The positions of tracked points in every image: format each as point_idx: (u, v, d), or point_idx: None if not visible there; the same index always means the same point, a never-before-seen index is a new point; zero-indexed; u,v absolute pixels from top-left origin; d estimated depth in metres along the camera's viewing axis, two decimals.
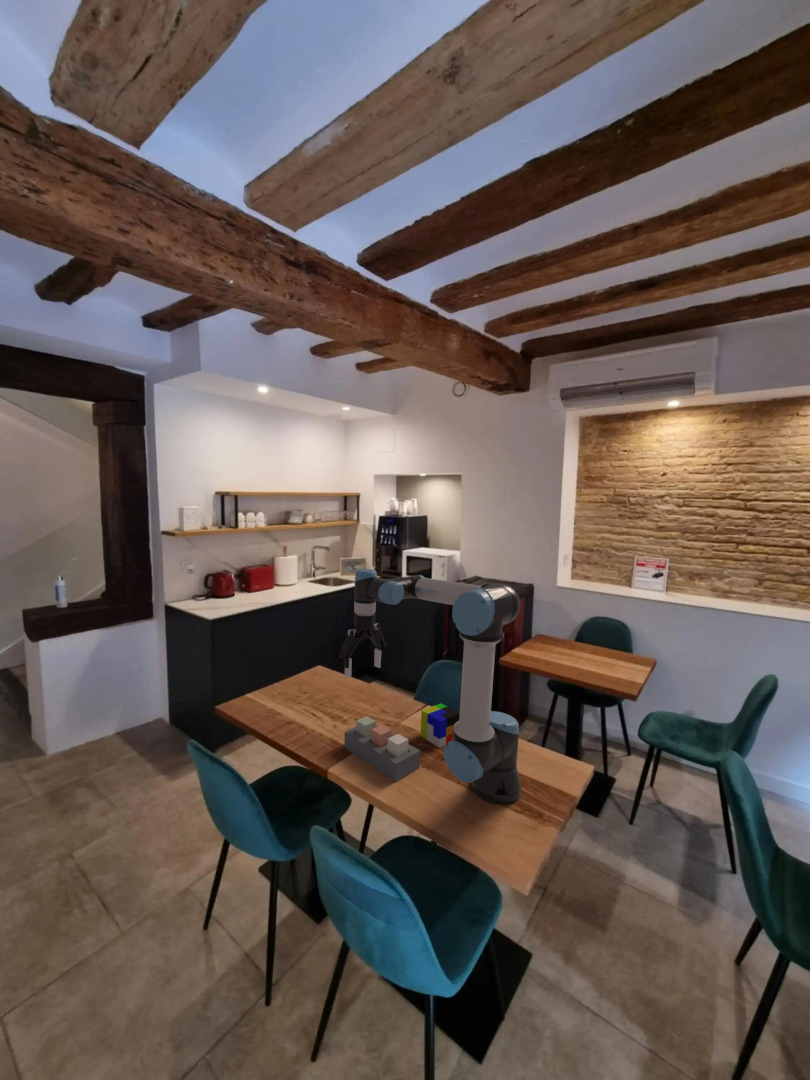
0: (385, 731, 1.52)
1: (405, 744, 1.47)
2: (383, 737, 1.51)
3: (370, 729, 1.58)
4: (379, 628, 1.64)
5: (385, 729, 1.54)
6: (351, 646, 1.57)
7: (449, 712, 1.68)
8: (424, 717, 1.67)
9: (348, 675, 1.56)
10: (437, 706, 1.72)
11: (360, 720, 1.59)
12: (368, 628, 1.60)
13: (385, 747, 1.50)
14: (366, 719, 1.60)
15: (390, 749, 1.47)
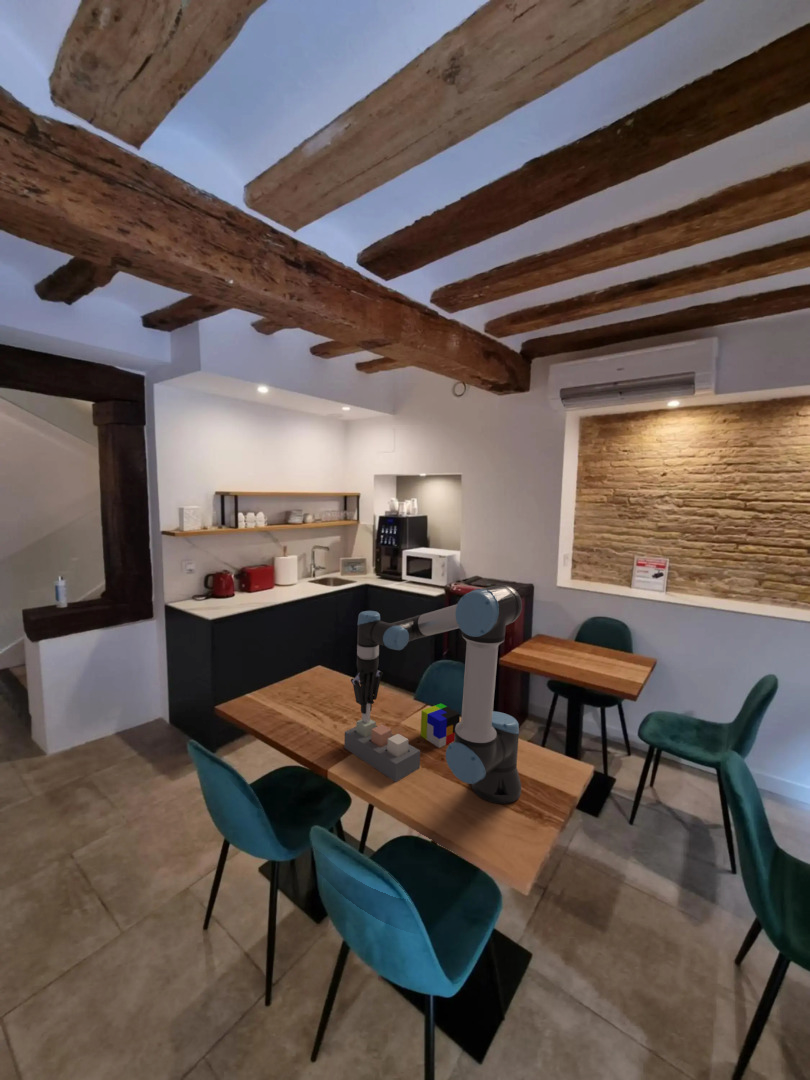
0: (385, 731, 1.52)
1: (405, 744, 1.47)
2: (383, 737, 1.51)
3: (370, 730, 1.58)
4: (380, 676, 1.60)
5: (385, 729, 1.54)
6: (363, 692, 1.57)
7: (449, 712, 1.68)
8: (424, 717, 1.67)
9: (365, 720, 1.58)
10: (437, 706, 1.72)
11: (360, 721, 1.59)
12: None
13: (385, 747, 1.50)
14: None
15: (390, 749, 1.47)
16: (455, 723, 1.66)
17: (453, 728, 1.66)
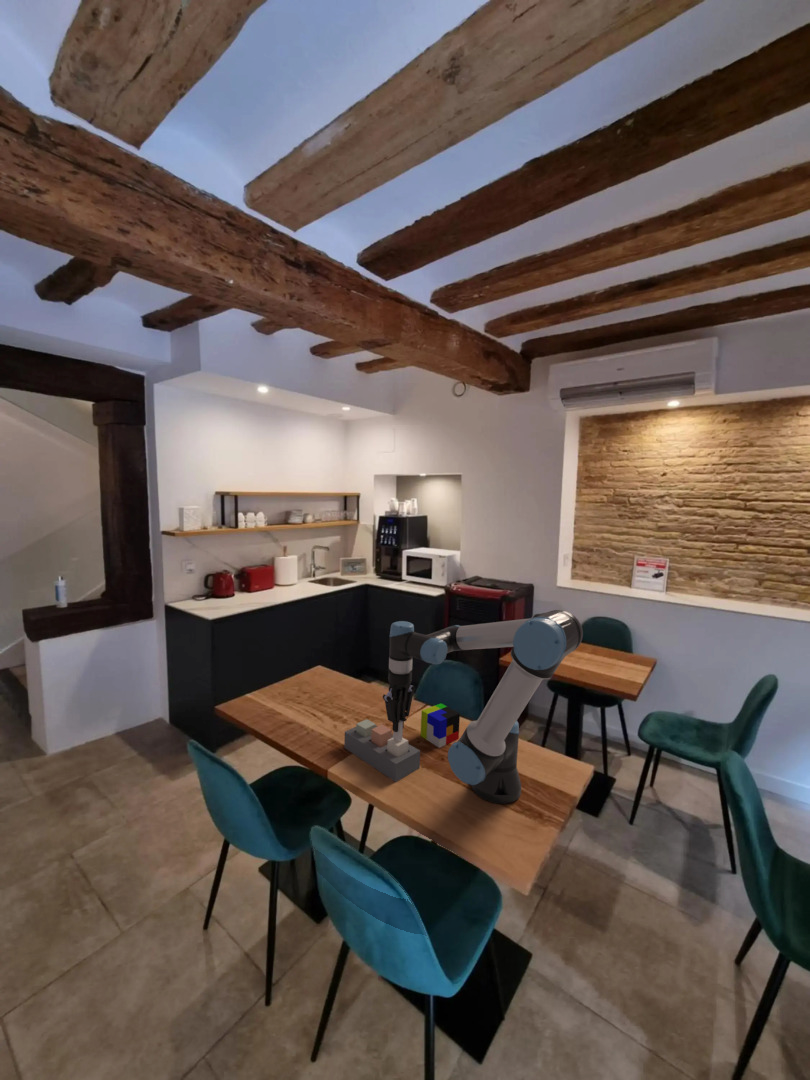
0: (385, 731, 1.52)
1: (405, 746, 1.47)
2: (383, 737, 1.51)
3: (370, 732, 1.58)
4: (412, 691, 1.49)
5: (385, 729, 1.54)
6: (395, 709, 1.45)
7: (449, 712, 1.68)
8: (424, 717, 1.67)
9: (397, 739, 1.47)
10: (437, 706, 1.72)
11: (360, 723, 1.59)
12: None
13: (385, 747, 1.50)
14: (366, 722, 1.60)
15: (390, 750, 1.47)
16: (455, 723, 1.66)
17: (453, 728, 1.66)
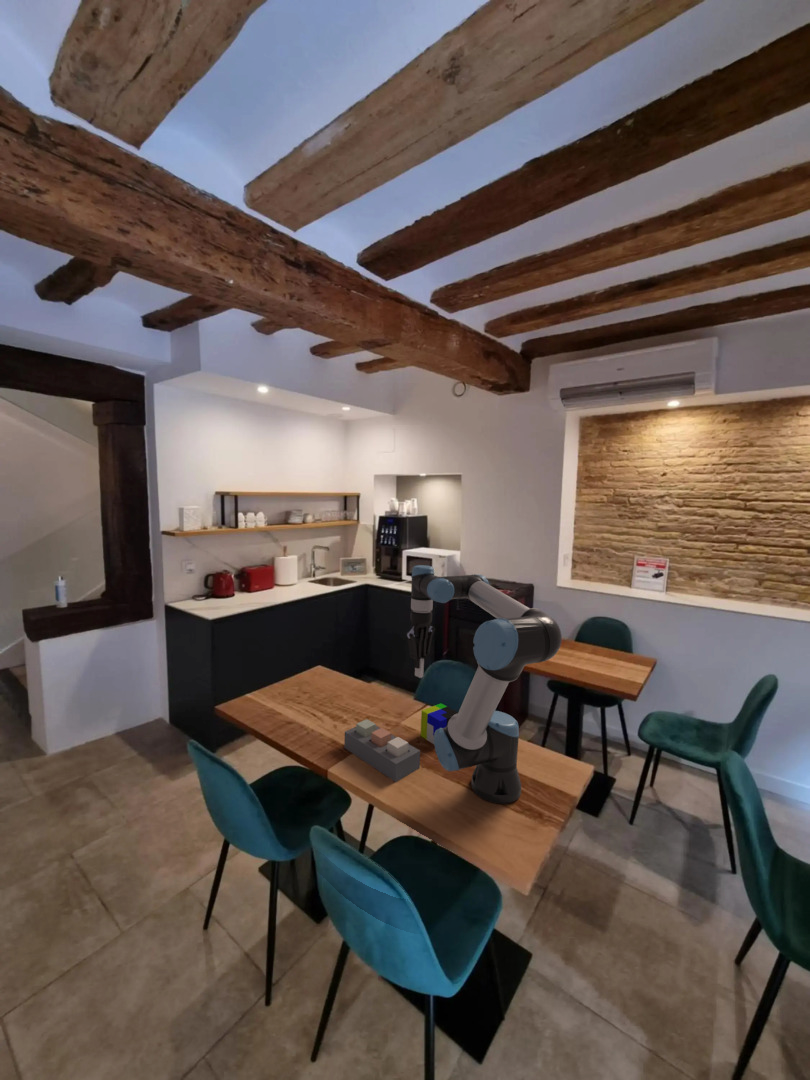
0: (385, 735, 1.52)
1: (405, 748, 1.47)
2: (383, 740, 1.51)
3: (370, 732, 1.58)
4: (432, 631, 1.60)
5: (385, 732, 1.54)
6: (416, 647, 1.56)
7: (449, 712, 1.68)
8: (424, 717, 1.67)
9: (419, 675, 1.58)
10: (437, 706, 1.72)
11: (360, 723, 1.59)
12: None
13: (385, 747, 1.50)
14: (366, 722, 1.60)
15: (390, 752, 1.47)
16: None
17: None
